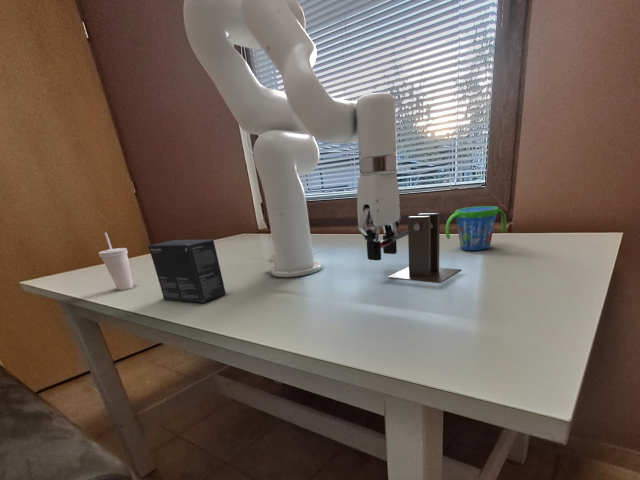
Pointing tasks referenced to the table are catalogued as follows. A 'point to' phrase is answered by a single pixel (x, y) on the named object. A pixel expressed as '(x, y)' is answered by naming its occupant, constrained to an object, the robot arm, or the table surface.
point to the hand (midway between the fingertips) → (382, 255)
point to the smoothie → (117, 266)
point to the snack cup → (476, 226)
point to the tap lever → (397, 237)
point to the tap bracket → (424, 251)
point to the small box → (188, 270)
